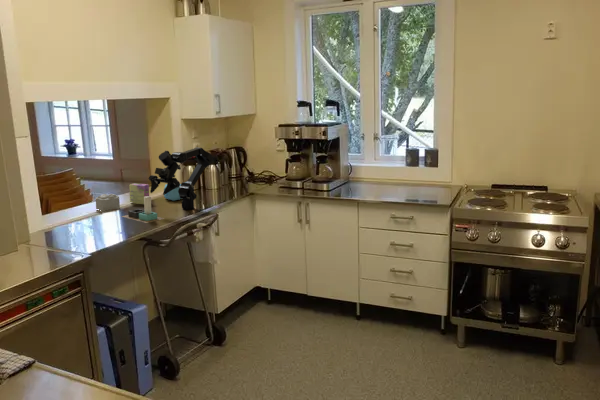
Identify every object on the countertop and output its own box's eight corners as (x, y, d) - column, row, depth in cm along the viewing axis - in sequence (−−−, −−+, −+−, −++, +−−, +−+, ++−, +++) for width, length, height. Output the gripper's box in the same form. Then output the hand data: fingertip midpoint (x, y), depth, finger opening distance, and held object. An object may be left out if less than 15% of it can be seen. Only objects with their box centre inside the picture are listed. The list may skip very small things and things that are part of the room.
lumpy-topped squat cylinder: (94, 209, 300) (93, 195, 298) (114, 206, 310) (113, 192, 308) (103, 212, 293) (102, 197, 292) (123, 208, 303) (123, 194, 302)
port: (139, 219, 276) (138, 213, 275) (149, 216, 281) (149, 211, 280) (147, 221, 272) (146, 215, 271) (157, 218, 277) (157, 213, 276)
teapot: (194, 198, 334) (193, 181, 331) (169, 202, 321) (169, 184, 319) (183, 195, 342) (182, 179, 340) (159, 199, 329) (158, 182, 327)
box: (149, 202, 320) (148, 184, 318) (144, 204, 315) (143, 185, 312) (135, 201, 323) (134, 183, 320) (129, 203, 317) (128, 184, 315)
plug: (150, 217, 279) (150, 196, 276) (152, 219, 276) (151, 197, 273) (144, 218, 277) (143, 196, 275) (145, 219, 274) (144, 197, 272)
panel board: (121, 218, 281) (120, 211, 280) (139, 214, 290) (139, 207, 289) (146, 224, 268) (146, 217, 267) (164, 220, 278) (164, 213, 277)
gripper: (150, 160, 286) (136, 183, 278) (175, 163, 277) (162, 186, 270) (160, 172, 294) (147, 195, 287) (185, 175, 286) (173, 198, 278)
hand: (157, 193), depth 280 cm, fingers open, 9 cm apart
